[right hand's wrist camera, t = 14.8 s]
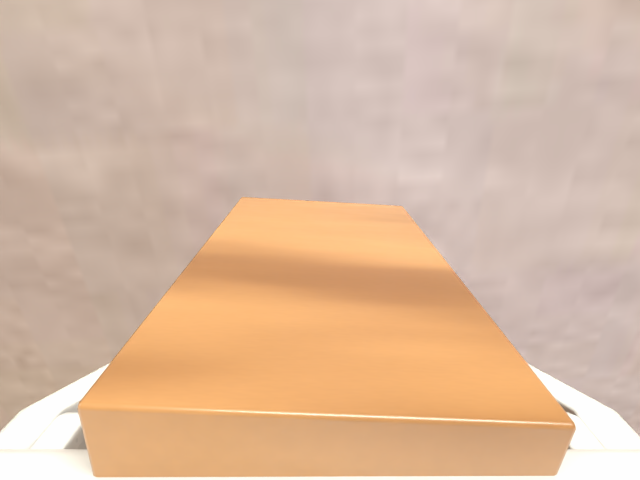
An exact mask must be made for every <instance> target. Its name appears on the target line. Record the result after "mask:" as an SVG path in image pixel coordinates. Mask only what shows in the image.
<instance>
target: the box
mask: <svg viewBox="0 0 640 480" xmlns="http://www.w3.org/2000/svg"><path fill="white" fill-rule="evenodd" d="M77 410H78V414H79V418H80V422H81V426H82V430H83V435H84V439H85V443H86V447H87V451H88V455H89V460H90V464H91V468H92V472H93V476H95V477H358V476H555V475H557V473H558V471H559V468H560V466H561V464H562V461H563V459H564V457H565V454H566V452H567V450H568V447H569V445H570V442H571V440H572V438H573V435H574V433H575V431H576V426H575V423H574V422H573V420H572V419H571V418H570V417H569V415H568V414H567V413H566V412H565V410H564V409H563V408H562V407H561V405H560V404H559V403H558V402H557V400H556V399H555V398H554V396H553V395H552V394H551V393H550V391H549V390H548V389H547V388H546V386H545V385H544V384H543V383H542V381H541V380H540V379H539V378H538V376H537V375H536V374H535V373H534V371H533V370H532V369H531V368H530V366H529V365H528V364H527V362H526V361H525V360H524V359H523V357H522V356H521V355H520V354H519V352H518V351H517V350H516V349H515V347H514V346H513V345H512V344H511V342H510V341H509V340H508V339H507V337H506V336H505V335H504V334H503V332H502V331H501V330H500V328H499V327H498V326H497V325H496V323H495V322H494V321H493V320H492V318H491V317H490V316H489V315H488V313H487V312H486V311H485V310H484V308H483V307H482V306H481V305H480V303H479V302H478V301H477V300H476V298H475V297H474V296H473V295H472V293H471V292H470V291H469V289H468V288H467V287H466V286H465V284H464V283H463V282H462V281H461V279H460V278H459V277H458V276H457V274H456V273H455V272H454V271H453V269H452V268H451V267H450V266H449V264H448V263H447V262H446V261H445V259H444V258H443V257H442V255H441V254H440V253H439V252H438V250H437V249H436V248H435V247H434V245H433V244H432V243H431V242H430V240H429V239H428V238H427V237H426V235H425V234H424V233H423V232H422V230H421V229H420V228H419V227H418V225H417V224H416V223H415V222H414V220H413V219H412V218H411V216H410V215H409V214H408V213H407V211H406V210H405V209H404V208H403V207H402V206H391V205H373V204H355V203H338V202H320V201H302V200H285V199H267V198H249V197H242V198H241V199H240V200H239V201H238V203H237V204H236V205H235V206H234V208H233V209H232V210H231V211H230V213H229V214H228V215H227V217H226V218H225V219H224V220H223V222H222V223H221V224H220V225H219V227H218V228H217V229H216V230H215V232H214V233H213V234H212V235H211V237H210V238H209V239H208V240H207V242H206V243H205V244H204V246H203V247H202V248H201V249H200V251H199V252H198V253H197V254H196V256H195V257H194V258H193V259H192V261H191V262H190V263H189V264H188V266H187V267H186V268H185V269H184V271H183V272H182V273H181V275H180V276H179V277H178V278H177V280H176V281H175V282H174V283H173V285H172V286H171V287H170V288H169V290H168V291H167V292H166V293H165V295H164V296H163V297H162V298H161V300H160V301H159V302H158V303H157V305H156V306H155V307H154V309H153V310H152V311H151V312H150V314H149V315H148V316H147V317H146V319H145V320H144V321H143V322H142V324H141V325H140V326H139V327H138V329H137V330H136V331H135V332H134V334H133V335H132V336H131V338H130V339H129V340H128V341H127V343H126V344H125V345H124V346H123V348H122V349H121V350H120V351H119V353H118V354H117V355H116V356H115V358H114V359H113V360H112V361H111V363H110V364H109V365H108V366H107V368H106V369H105V370H104V372H103V373H102V374H101V375H100V377H99V378H98V379H97V380H96V382H95V383H94V384H93V385H92V387H91V388H90V389H89V390H88V392H87V393H86V394H85V395H84V397H83V398H82V399H81V401H80V402H79V404H78V408H77Z"/></svg>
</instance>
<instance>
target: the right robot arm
mask: <svg viewBox="0 0 640 480" xmlns="http://www.w3.org/2000/svg"><path fill="white" fill-rule="evenodd" d="M109 364H110V363H109ZM109 364H107V365H105V366H103V367H101V368H99V369H98V370H96V371H94V372H92V373H90V374H88V375H86V376H84V377H83V378H81V379H79V380H77V381H75V382H73V383H71V384H69V385H68V386H66V387H64V388H62V389H60V390H58V391H56V392H55V393H53V394H51V395H49V396H47V397H45V398H43V399H41V400H40V401H38V402H36V403H34V404H32V405H30V406H28V407H26V408H25V409H23V410H21V411H20V412H19V413H18V414H17V415H16V416H15V417H14V418H13V419H12V420H11V421H10V422H9V423H8V424H7V425H6V426H5V427H4V428H3V429H2V430H1V431H0V480H640V437H639V436H638V434H637V433H636V432H635V431H634V430H633V429H632V428H631V427H630V426H629V425H628V424H627V423H626V422H625V421H624V420H623V419H622V418H621V417H620V415H619V414H618V413H617V412H616V411H614V410H612V409H610V408H609V407H607V406H605V405H603V404H601V403H599V402H597V401H596V400H594V399H592V398H590V397H588V396H586V395H585V394H583V393H581V392H579V391H577V390H575V389H573V388H572V387H570V386H568V385H566V384H564V383H562V382H560V381H559V380H557V379H555V378H553V377H551V376H549V375H548V374H546V373H544V372H542V371H540V370H538V369H536V368H535V367H533V366H531V365H529V364H528V365H529V366H530V368H531V369H532V370H533V371H534V373H535V374H536V375H537V376H538V378H539V379H540V380H541V381H542V383H543V384H544V385H545V386H546V388H547V389H548V390H549V391H550V393H551V394H552V395H553V396H554V398H555V399H556V400H557V402H558V403H559V404H560V405H561V407H562V408H563V409H564V410H565V412H566V413H567V414H568V415H569V417H570V418H571V419H572V420H573V422H574V423H575V426H576V431H575V433H574V435H573V438H572V440H571V442H570V445H569V447H568V450H567V452H566V454H565V457H564V459H563V461H562V464H561V466H560V468H559V471H558V473H557V475H555V476H358V477H95V476H93V472H92V468H91V464H90V460H89V455H88V451H87V447H86V443H85V439H84V435H83V430H82V426H81V422H80V418H79V414H78V410H77V408H78V404H79V402H80V401H81V399H82V398H83V397H84V395H85V394H86V393H87V392H88V390H89V389H90V388H91V387H92V385H93V384H94V383H95V382H96V380H97V379H98V378H99V377H100V375H101V374H102V373H103V372H104V370H105V369H106V368H107V366H108V365H109Z"/></svg>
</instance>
